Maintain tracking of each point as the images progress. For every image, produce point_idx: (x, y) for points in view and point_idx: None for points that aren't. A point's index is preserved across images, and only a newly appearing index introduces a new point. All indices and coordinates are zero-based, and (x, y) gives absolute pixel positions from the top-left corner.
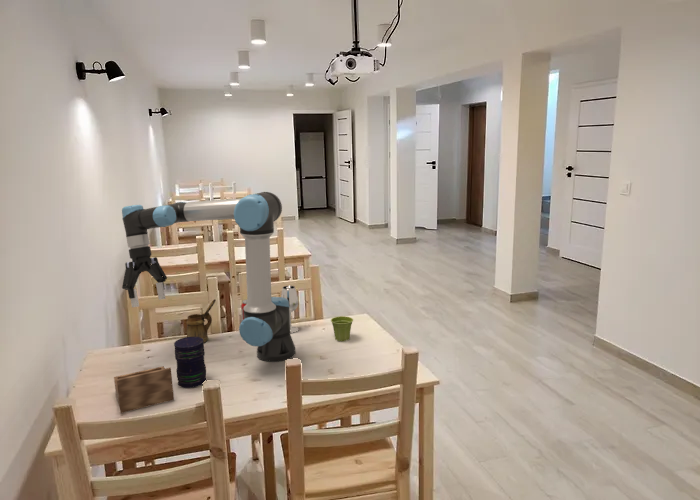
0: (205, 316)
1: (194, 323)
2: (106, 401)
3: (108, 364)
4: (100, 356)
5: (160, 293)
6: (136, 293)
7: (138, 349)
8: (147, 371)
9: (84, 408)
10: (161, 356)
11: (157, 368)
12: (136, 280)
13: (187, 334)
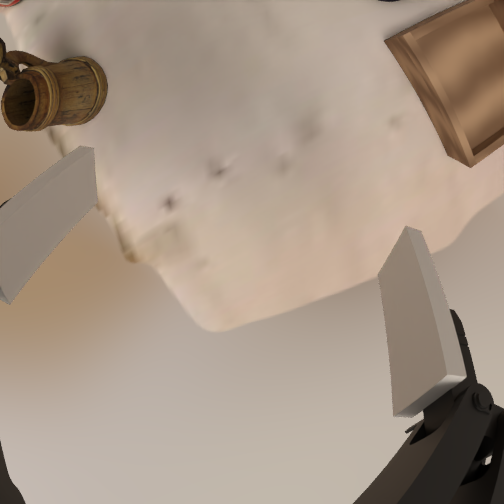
0: (13, 63)
1: (52, 81)
2: None
3: (284, 262)
4: (236, 307)
5: (65, 202)
6: (440, 324)
7: (171, 236)
8: (437, 79)
9: (501, 190)
10: (207, 133)
11: (420, 51)
12: (418, 488)
13: (79, 110)
